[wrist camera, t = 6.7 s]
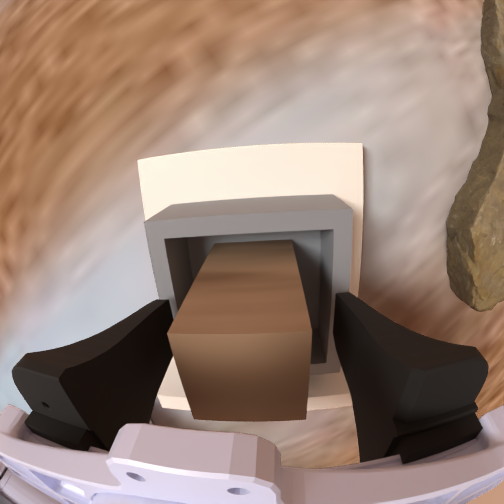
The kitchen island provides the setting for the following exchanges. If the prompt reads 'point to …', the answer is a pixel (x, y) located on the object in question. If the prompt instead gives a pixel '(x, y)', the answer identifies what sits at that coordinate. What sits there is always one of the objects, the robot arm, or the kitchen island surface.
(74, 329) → the kitchen island surface
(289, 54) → the kitchen island surface
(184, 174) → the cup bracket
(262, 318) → the walnut rail post
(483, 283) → the stone slab
